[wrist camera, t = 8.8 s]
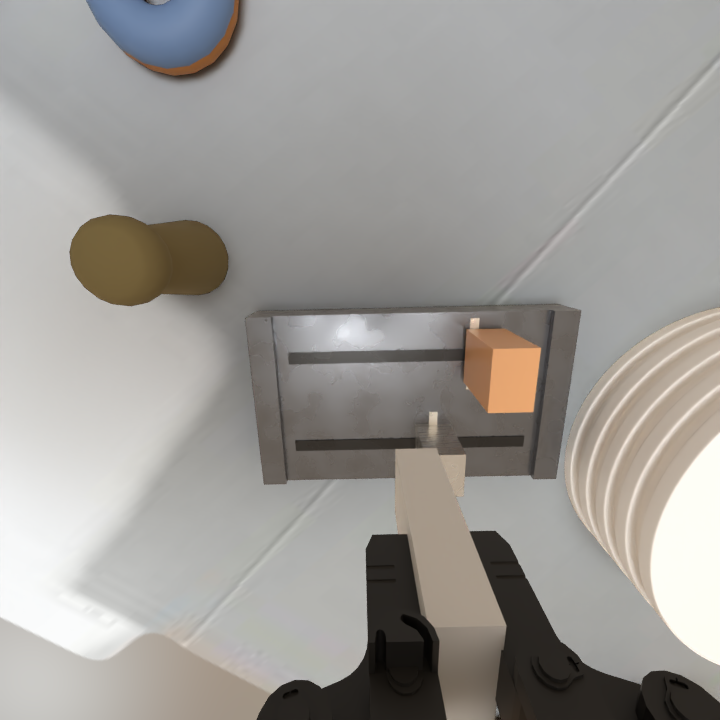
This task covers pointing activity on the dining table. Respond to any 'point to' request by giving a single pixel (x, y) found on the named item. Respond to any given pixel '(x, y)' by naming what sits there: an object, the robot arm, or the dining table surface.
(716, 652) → the plate stack
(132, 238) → the cork
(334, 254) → the dining table surface
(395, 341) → the slider panel
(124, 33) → the doughnut
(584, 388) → the dining table surface
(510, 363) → the fader
